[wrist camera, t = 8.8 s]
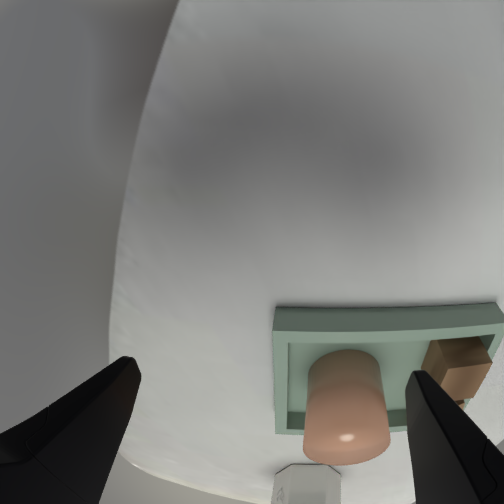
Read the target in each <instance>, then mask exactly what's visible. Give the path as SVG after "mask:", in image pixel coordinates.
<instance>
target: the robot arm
mask: <svg viewBox="0 0 504 504" xmlns="http://www.w3.org/2000/svg"><path fill="white" fill-rule="evenodd" d="M140 382H141V372H140V370H139V368H138V365H137V363H136V360H135V359H134V358H133V357H128V356H122V357H120V358H119V359H117V360H116V361H115V362H113V363H112V364H110V365H109V366H107V367H106V368H104V369H103V370H101V371H100V372H98V373H97V374H95V375H94V376H93V377H91V378H89V379H88V380H87V381H85V382H83V383H82V384H80V385H79V386H78V387H76V388H75V389H73V390H72V391H70V392H69V393H67V394H66V395H64V396H63V397H61V398H60V399H58V400H57V401H55V402H54V403H52V404H51V405H49V407H46V408H45V409H43V410H41V411H40V412H38V413H37V414H35V415H34V416H32V417H30V418H29V419H27V420H25V421H23V422H21V423H20V424H18V425H16V426H14V427H12V428H10V429H8V430H6V431H4V432H3V433H0V504H99V501H100V498H101V495H102V492H103V490H104V487H105V484H106V481H107V478H108V476H109V473H110V470H111V468H112V465H113V462H114V459H115V457H116V454H117V451H118V449H119V446H120V444H121V441H122V438H123V436H124V433H125V431H126V428H127V425H128V423H129V420H130V417H131V414H132V411H133V407H134V404H135V400H136V396H137V393H138V389H139V385H140ZM405 400H406V415H407V434H408V442H409V448H410V455H411V462H412V470H413V478H414V487H415V497H416V504H504V455H503V454H502V453H501V452H500V451H499V449H498V448H497V447H496V446H495V445H494V444H493V443H492V442H491V441H490V440H489V439H487V436H486V435H485V434H484V433H483V432H482V431H481V430H480V428H479V427H478V426H477V425H476V424H475V423H474V422H473V421H472V420H471V419H470V417H469V416H468V415H467V414H466V413H465V412H464V411H463V410H462V409H461V408H460V406H459V405H458V404H457V403H456V402H455V401H454V400H453V399H452V398H451V397H450V396H449V395H448V394H447V392H446V391H445V390H444V389H443V388H442V387H441V386H440V385H439V384H438V383H437V382H436V381H435V380H434V379H433V378H432V377H431V376H430V374H429V373H428V372H427V371H425V370H414V371H412V373H411V375H410V378H409V380H408V383H407V385H406V389H405Z"/></svg>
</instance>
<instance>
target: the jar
mask: <svg viewBox="0 0 504 504" xmlns="http://www.w3.org/2000/svg"><path fill="white" fill-rule="evenodd" d="M271 504H341V475H340V474H339V473H337V472H336V471H335V470H333V469H332V468H331V467H330V466H328V465H326V464H317V465H305V464H292V465H290V466H288V467H287V468H285V469H284V470H282V471H281V472H279V473H277V474H276V475H275V479H274V486H273V493H272V499H271Z"/></svg>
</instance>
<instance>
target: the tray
mask: <svg viewBox="0 0 504 504" xmlns="http://www.w3.org/2000/svg"><path fill="white" fill-rule="evenodd" d="M272 336H273V364H274V397H275V434H287V435H304V429H305V415H306V400H307V383H308V372H309V369H310V368H311V366H312V365H313V363H314V362H315V361H316V360H318V359H319V358H320V357H322V356H324V355H326V354H328V353H331V352H334V351H339V350H348V349H349V350H359V351H363V352H366V353H368V354H370V355H372V356H373V357H374V358H375V359H376V360H377V361H378V363H379V366H380V371H381V377H382V383H383V389H384V395H385V402H386V409H387V416H388V424H389V431H390V432H399V431H407V415H406V400H405V389H406V385H407V383H408V380H409V378H410V375H411V373H412V371H414V370H421V365H422V363H423V360H424V357H425V355H426V352H427V349H428V346H429V343H430V341H431V340H438V339H451V338H462V337H472V336H479V337H480V339H481V341H482V343H483V345H484V347H485V349H486V350H487V352H488V354H489V356H490V358H491V360H492V359H493V357H494V355H495V353H496V351H497V349H498V347H499V345H500V342H501V340H502V338H503V336H504V314H503V312H502V311H501V309H500V308H499V306H498V305H497V304H496V303H486V304H470V305H451V306H428V307H395V308H287V307H276V310H275V317H274V323H273V330H272ZM470 399H471V398H469V399H464V402H465V405H464V408H463V410H464V409H465V407H466V406H467V404H468V402H469V401H470Z"/></svg>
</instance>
